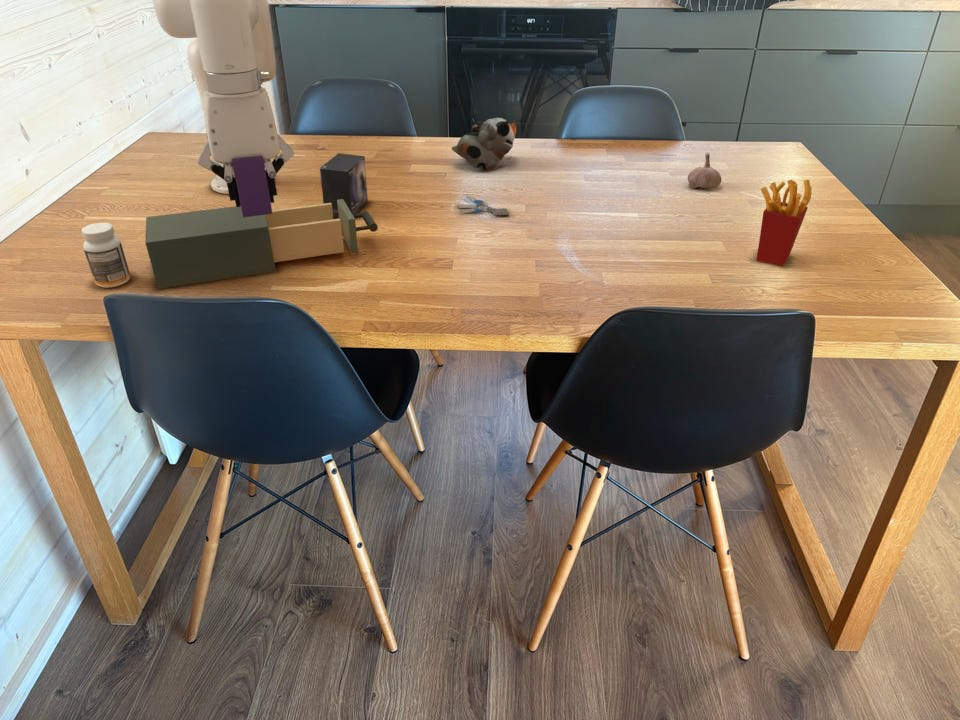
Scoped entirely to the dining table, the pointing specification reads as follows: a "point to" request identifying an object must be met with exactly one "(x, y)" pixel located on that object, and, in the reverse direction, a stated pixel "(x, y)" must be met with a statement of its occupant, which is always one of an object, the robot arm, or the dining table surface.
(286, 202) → the dining table surface
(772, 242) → the french fries
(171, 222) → the cabinet
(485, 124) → the lucky cat figurine
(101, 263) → the pill bottle
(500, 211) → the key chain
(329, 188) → the small box
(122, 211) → the dining table surface
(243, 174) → the snack carton
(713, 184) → the garlic bulb
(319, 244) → the drawer
